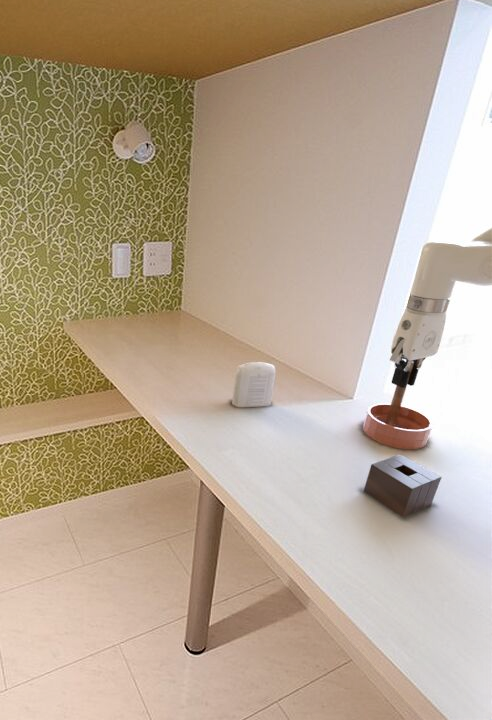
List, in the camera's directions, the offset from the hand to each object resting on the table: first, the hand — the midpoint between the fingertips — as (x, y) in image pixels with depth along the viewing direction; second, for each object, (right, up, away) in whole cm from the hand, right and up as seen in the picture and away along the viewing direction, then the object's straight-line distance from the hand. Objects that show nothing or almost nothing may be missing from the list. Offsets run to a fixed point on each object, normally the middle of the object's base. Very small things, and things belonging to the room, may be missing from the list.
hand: (402, 383), depth 99 cm
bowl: (0, -12, +3) cm, 13 cm away
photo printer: (-30, -6, +17) cm, 35 cm away
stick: (0, -10, +5) cm, 11 cm away
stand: (-12, -22, -18) cm, 31 cm away
